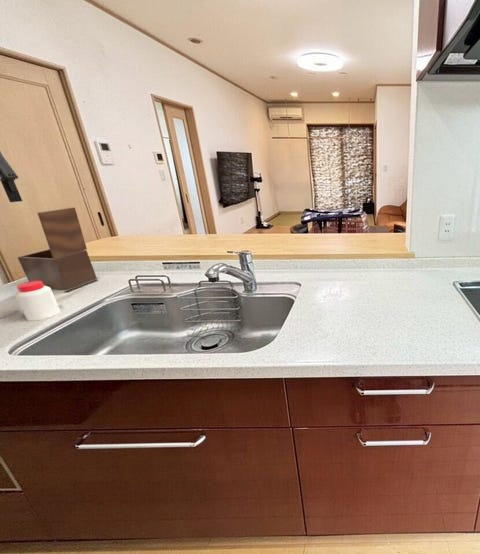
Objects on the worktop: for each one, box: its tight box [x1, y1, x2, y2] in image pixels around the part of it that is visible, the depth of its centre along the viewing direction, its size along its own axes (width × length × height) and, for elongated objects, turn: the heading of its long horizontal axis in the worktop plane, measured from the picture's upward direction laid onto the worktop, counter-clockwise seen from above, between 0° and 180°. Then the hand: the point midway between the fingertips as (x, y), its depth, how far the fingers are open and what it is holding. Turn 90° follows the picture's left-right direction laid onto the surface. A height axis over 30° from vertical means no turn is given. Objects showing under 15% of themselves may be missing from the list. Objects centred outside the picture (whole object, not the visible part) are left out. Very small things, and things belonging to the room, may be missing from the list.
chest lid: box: [37, 207, 88, 258], centre depth 109 cm, size 16×12×1 cm
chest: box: [17, 248, 99, 293], centre depth 115 cm, size 16×12×13 cm
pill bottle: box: [14, 281, 61, 322], centre depth 94 cm, size 8×8×11 cm
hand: (2, 200), depth 98 cm, fingers open, 13 cm apart
